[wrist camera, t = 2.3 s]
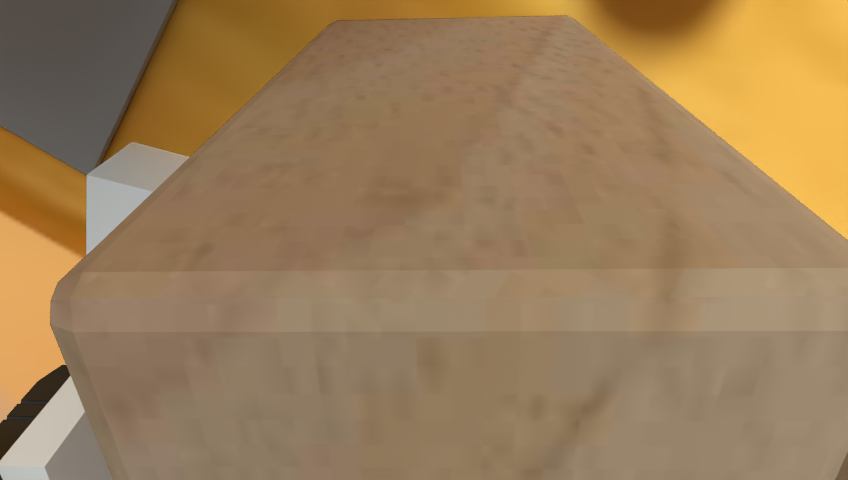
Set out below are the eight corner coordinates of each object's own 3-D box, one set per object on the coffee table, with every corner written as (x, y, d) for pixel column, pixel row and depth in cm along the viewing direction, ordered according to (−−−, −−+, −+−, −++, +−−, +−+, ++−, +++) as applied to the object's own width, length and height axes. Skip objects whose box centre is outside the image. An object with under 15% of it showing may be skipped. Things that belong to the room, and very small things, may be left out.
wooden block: (348, 236, 29) (200, 731, 11) (327, 18, 24) (15, 295, 7) (556, 234, 29) (733, 745, 11) (576, 13, 24) (946, 292, 6)
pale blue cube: (132, 141, 27) (86, 174, 24) (221, 164, 27) (188, 200, 24) (129, 216, 29) (86, 258, 25) (212, 237, 29) (180, 281, 26)
